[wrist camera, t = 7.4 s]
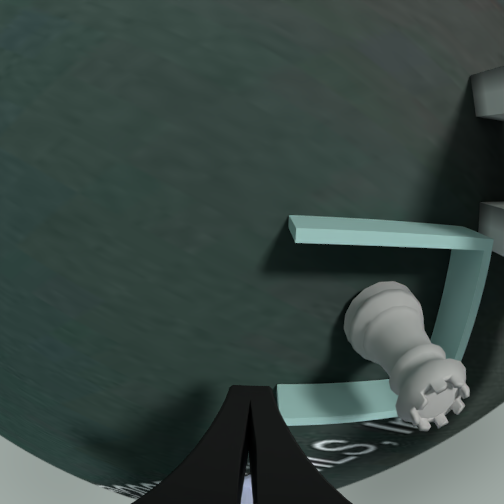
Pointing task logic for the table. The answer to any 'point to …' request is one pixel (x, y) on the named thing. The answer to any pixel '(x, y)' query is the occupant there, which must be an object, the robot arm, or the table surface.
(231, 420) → the robot arm
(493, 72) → the toy llama
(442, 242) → the teal frame
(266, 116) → the table surface
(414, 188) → the table surface
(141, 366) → the table surface
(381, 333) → the rook chess piece
